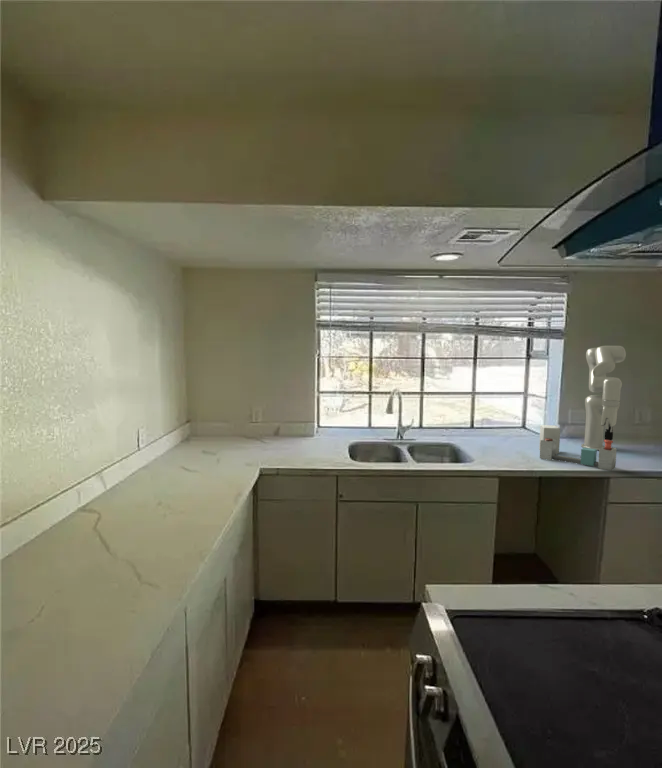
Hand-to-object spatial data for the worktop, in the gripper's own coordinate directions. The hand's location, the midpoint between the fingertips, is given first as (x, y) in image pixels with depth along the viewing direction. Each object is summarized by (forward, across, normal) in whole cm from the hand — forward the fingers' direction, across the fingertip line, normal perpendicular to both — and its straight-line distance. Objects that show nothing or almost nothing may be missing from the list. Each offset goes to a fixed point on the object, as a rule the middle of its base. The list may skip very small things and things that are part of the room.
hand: (608, 439), depth 235 cm
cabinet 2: (+15, 0, 0) cm, 15 cm away
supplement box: (+15, -14, -33) cm, 39 cm away
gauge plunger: (+5, 0, 0) cm, 5 cm away
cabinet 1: (+15, 0, -29) cm, 32 cm away
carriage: (+15, 0, -9) cm, 17 cm away
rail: (+15, 0, -14) cm, 21 cm away
